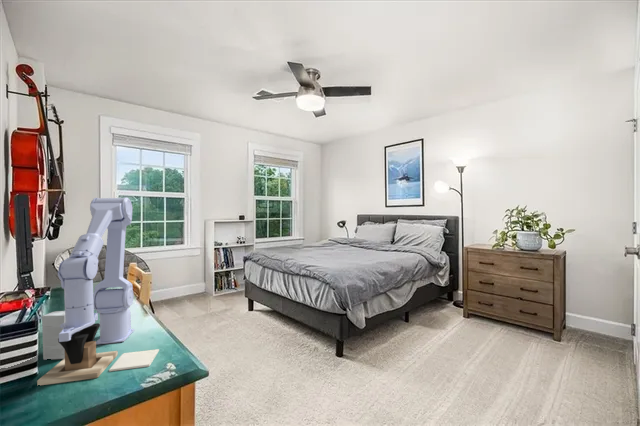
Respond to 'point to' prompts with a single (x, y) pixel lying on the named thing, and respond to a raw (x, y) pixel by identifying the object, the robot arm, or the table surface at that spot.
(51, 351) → the skincare box
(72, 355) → the robot arm
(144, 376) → the table surface
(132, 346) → the table surface
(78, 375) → the board
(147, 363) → the tile
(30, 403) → the table surface
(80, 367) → the walnut block
